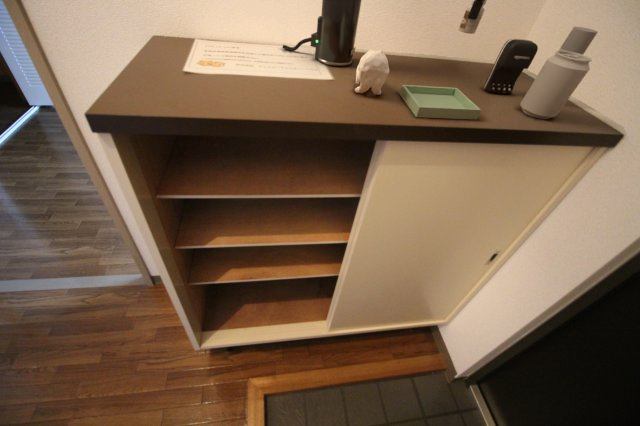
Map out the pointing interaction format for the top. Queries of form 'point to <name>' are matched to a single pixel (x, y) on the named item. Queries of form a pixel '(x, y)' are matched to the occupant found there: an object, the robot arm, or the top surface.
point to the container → (578, 40)
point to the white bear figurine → (372, 72)
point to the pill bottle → (471, 20)
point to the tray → (439, 102)
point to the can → (555, 84)
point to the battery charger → (510, 65)
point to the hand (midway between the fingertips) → (472, 17)
